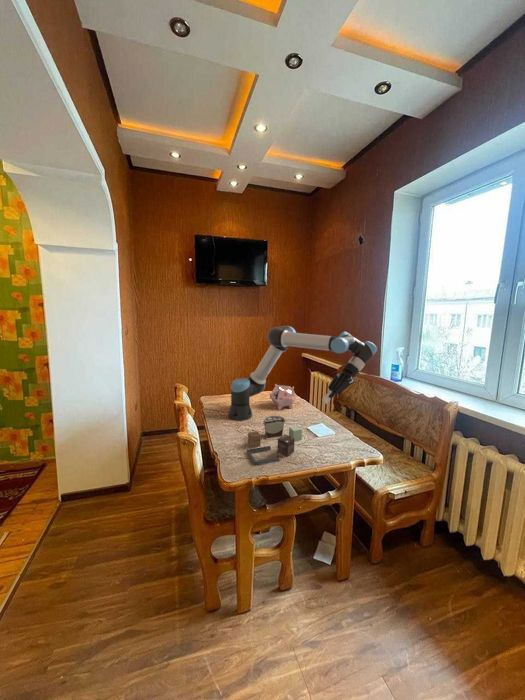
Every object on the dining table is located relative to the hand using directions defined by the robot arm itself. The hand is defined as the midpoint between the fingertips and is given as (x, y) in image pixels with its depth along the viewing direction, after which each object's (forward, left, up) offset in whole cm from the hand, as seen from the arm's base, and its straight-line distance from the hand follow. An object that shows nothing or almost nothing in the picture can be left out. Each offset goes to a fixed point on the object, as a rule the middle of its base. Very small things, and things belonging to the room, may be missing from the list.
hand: (324, 401), depth 137 cm
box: (0, -20, -24) cm, 31 cm away
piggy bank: (-57, +5, -24) cm, 62 cm away
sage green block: (-11, -9, -24) cm, 28 cm away
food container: (-19, -19, -24) cm, 36 cm away
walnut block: (-12, -32, -24) cm, 42 cm away
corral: (0, -32, -23) cm, 40 cm away
